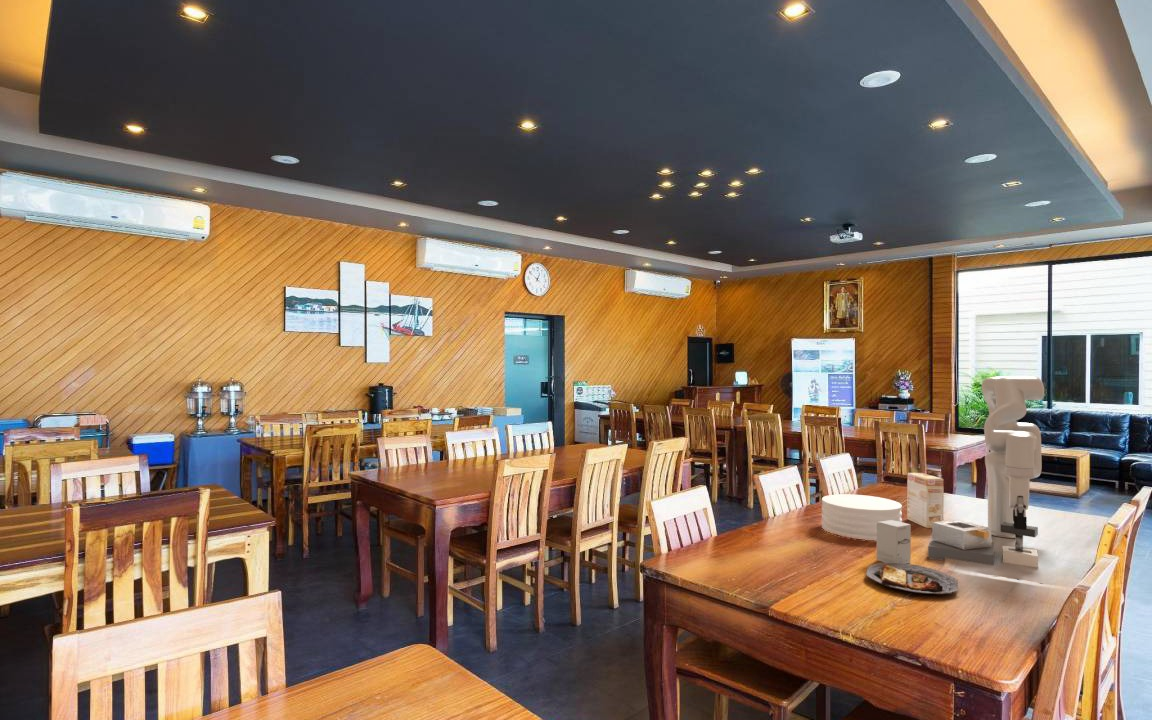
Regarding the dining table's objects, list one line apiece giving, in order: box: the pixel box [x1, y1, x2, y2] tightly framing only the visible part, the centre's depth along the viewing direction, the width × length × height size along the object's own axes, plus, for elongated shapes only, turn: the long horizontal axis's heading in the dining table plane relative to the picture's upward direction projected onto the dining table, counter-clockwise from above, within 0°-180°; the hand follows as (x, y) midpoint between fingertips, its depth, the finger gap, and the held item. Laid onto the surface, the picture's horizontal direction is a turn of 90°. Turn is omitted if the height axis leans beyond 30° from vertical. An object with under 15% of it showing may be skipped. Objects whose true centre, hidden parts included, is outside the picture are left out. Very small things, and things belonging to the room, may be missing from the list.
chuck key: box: [1001, 522, 1039, 552], centre depth 200 cm, size 5×9×11 cm, turn 44°
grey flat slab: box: [927, 536, 995, 566], centre depth 209 cm, size 18×18×4 cm
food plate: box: [865, 562, 959, 596], centre depth 181 cm, size 25×23×4 cm
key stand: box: [1002, 545, 1039, 568], centre depth 200 cm, size 8×9×4 cm
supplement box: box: [876, 520, 912, 564], centre depth 202 cm, size 7×7×13 cm
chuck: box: [931, 519, 992, 550], centre depth 207 cm, size 15×12×6 cm
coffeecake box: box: [906, 472, 945, 529], centre depth 252 cm, size 15×7×20 cm, turn 179°
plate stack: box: [821, 493, 903, 541], centre depth 240 cm, size 28×28×12 cm
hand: (1019, 525), depth 200 cm, fingers open, 9 cm apart
